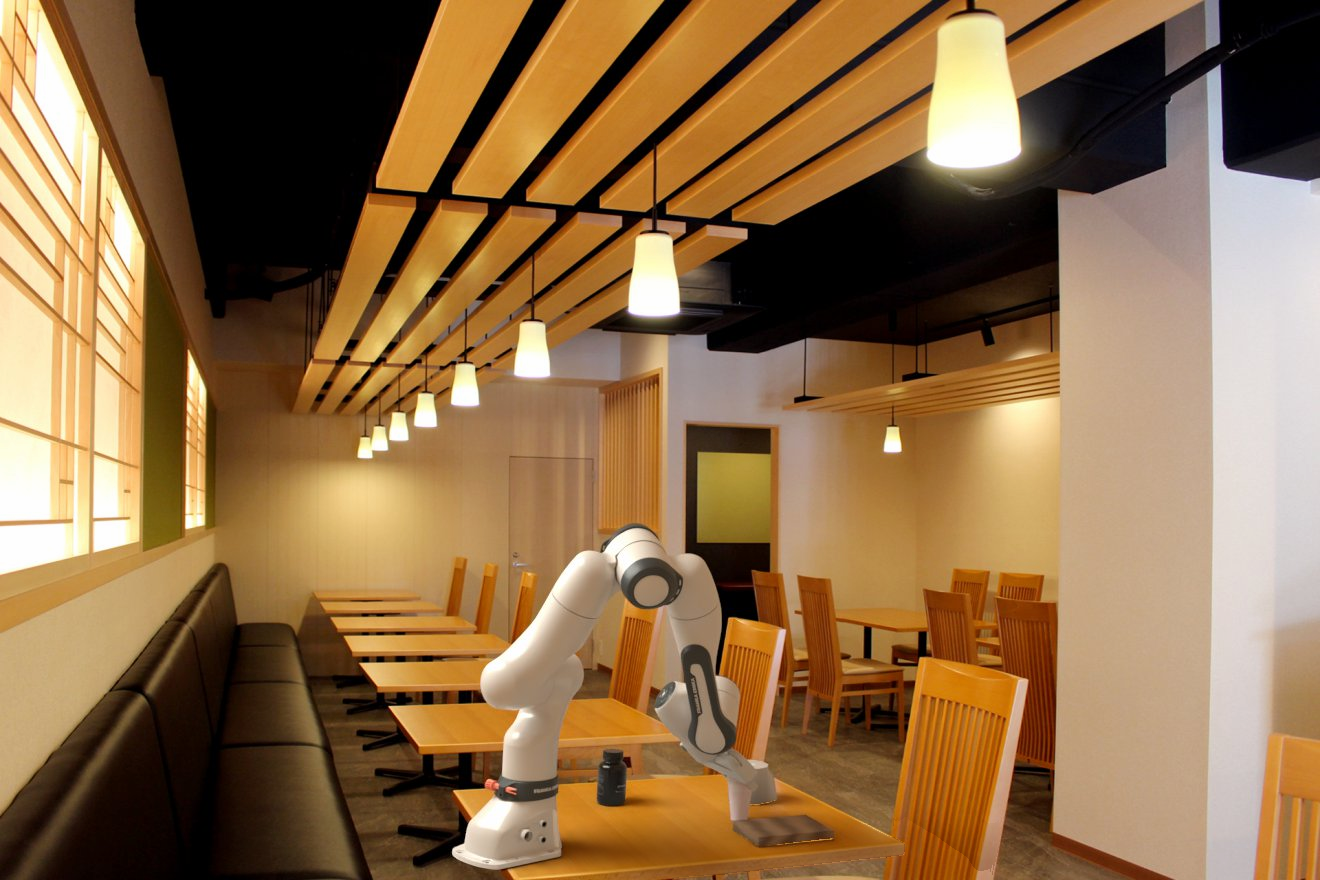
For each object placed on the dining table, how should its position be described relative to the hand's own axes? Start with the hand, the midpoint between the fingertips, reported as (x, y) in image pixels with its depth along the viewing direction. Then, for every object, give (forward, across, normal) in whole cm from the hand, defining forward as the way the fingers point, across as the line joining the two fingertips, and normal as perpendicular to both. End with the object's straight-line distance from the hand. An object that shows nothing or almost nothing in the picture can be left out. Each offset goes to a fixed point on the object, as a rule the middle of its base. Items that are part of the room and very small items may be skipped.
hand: (743, 783), depth 237 cm
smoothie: (+5, 0, +6) cm, 8 cm away
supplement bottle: (-10, +23, +21) cm, 33 cm away
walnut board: (+8, -12, +4) cm, 15 cm away
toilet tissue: (+14, +13, -2) cm, 19 cm away
